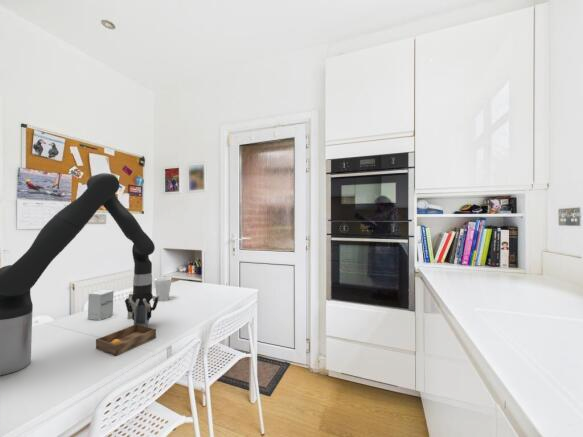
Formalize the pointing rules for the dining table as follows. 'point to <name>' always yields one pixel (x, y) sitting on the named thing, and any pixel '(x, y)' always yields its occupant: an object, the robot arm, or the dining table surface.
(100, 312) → the supplement box
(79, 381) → the dining table surface
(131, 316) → the skincare box
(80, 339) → the dining table surface
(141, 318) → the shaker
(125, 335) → the tray
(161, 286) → the foam cup
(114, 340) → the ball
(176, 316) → the dining table surface
